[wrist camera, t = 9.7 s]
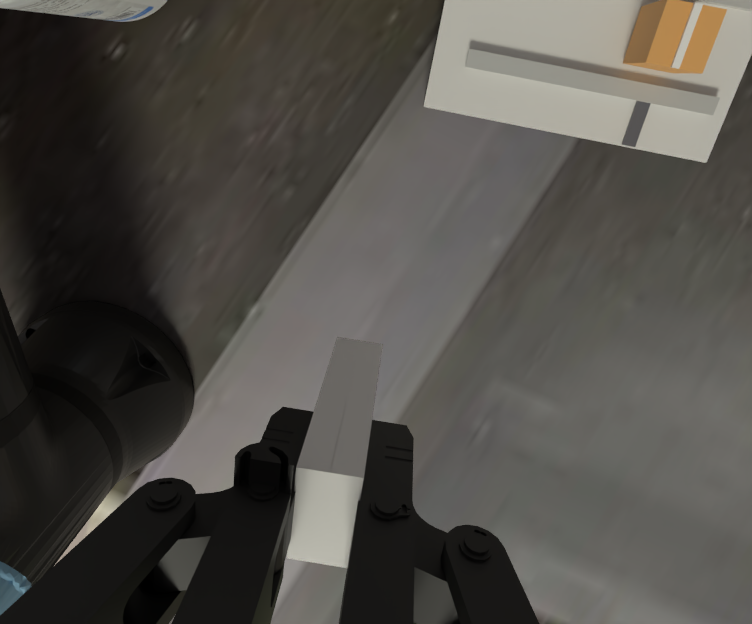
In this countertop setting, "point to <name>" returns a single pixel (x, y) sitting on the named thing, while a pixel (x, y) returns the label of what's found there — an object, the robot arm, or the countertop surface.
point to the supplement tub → (89, 8)
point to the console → (584, 73)
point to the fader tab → (674, 36)
